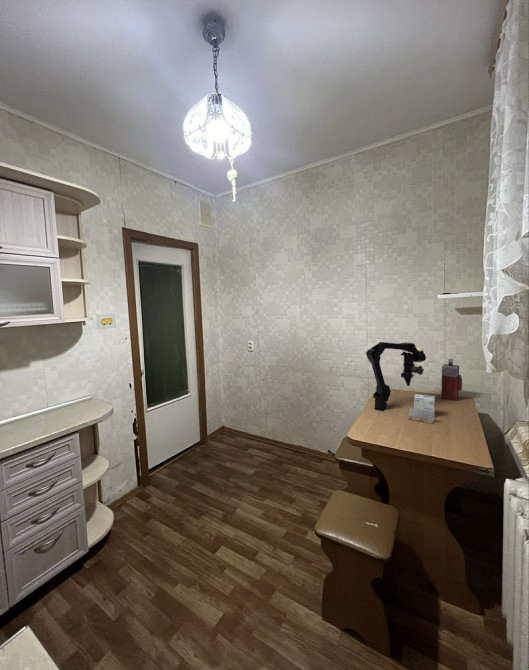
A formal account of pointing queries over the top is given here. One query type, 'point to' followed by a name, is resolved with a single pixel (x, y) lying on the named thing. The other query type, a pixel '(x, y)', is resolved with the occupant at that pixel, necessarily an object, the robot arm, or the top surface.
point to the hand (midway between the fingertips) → (408, 385)
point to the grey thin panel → (421, 414)
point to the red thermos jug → (450, 381)
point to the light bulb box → (424, 402)
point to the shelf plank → (421, 420)
